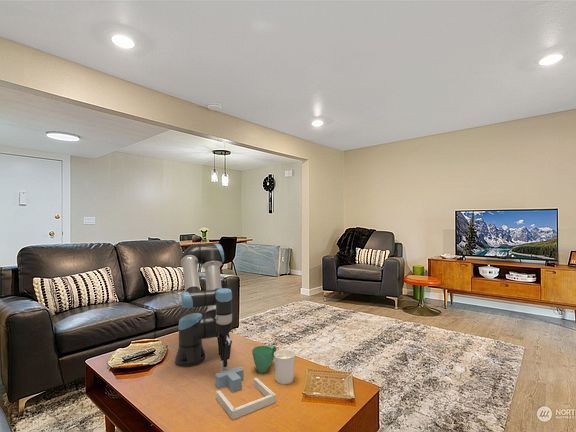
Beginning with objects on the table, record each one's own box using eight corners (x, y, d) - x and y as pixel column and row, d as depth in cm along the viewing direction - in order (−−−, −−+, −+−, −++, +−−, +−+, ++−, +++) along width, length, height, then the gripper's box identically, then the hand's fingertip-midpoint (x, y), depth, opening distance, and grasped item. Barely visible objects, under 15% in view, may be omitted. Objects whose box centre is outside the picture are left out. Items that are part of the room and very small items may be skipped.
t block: (215, 385, 137) (215, 373, 137) (239, 377, 144) (239, 366, 144) (224, 395, 129) (224, 383, 129) (249, 386, 135) (249, 375, 135)
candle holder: (298, 376, 144) (298, 351, 144) (289, 387, 135) (289, 360, 135) (279, 372, 148) (279, 347, 148) (270, 382, 139) (270, 356, 139)
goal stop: (216, 398, 127) (216, 391, 127) (256, 384, 137) (256, 377, 137) (232, 420, 113) (232, 411, 113) (275, 402, 124) (275, 394, 124)
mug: (263, 377, 143) (263, 356, 143) (248, 371, 148) (248, 351, 148) (282, 365, 155) (282, 345, 155) (267, 360, 160) (267, 341, 160)
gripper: (211, 320, 147) (211, 369, 147) (221, 328, 136) (221, 381, 136) (225, 317, 151) (226, 364, 151) (237, 324, 141) (237, 376, 140)
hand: (224, 372), depth 144 cm, fingers closed
